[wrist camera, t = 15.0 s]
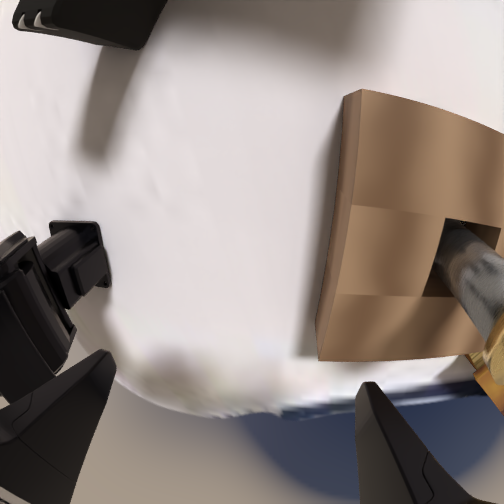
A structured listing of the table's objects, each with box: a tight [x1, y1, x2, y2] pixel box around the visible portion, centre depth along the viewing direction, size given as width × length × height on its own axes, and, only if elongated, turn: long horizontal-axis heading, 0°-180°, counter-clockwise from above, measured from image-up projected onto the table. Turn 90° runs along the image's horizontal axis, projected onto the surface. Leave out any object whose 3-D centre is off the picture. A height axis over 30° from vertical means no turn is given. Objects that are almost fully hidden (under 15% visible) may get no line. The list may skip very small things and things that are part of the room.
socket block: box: [315, 89, 504, 362], centre depth 16 cm, size 18×18×4 cm
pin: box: [432, 218, 504, 385], centre depth 13 cm, size 5×5×13 cm
